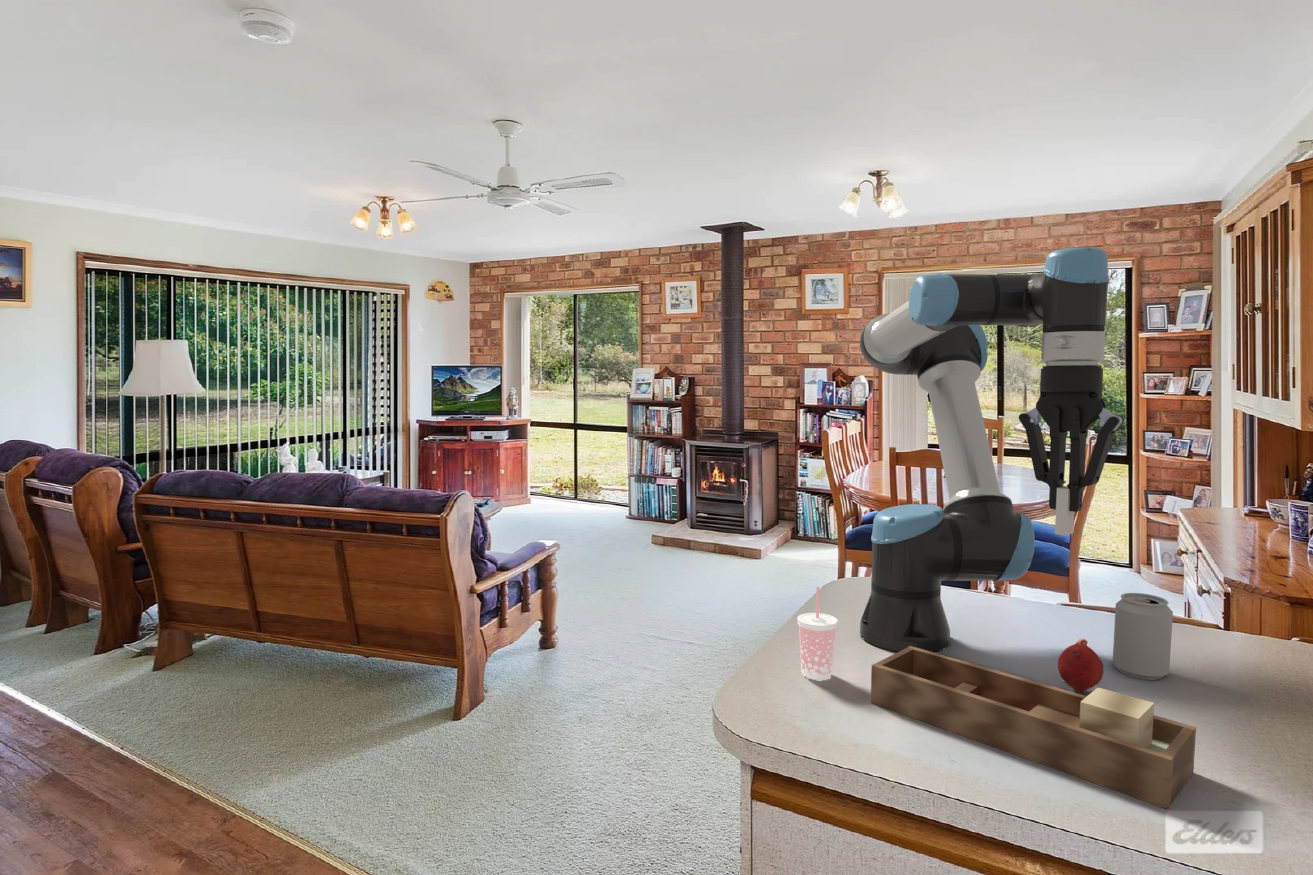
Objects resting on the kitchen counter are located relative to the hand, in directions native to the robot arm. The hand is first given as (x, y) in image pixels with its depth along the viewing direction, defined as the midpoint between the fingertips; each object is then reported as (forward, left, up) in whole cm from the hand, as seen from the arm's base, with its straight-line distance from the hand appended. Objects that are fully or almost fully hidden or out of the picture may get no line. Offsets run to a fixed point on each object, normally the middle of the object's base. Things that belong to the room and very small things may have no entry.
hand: (1064, 533), depth 105 cm
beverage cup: (-29, -17, -25) cm, 42 cm away
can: (+5, +21, -25) cm, 33 cm away
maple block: (+11, -14, -21) cm, 28 cm away
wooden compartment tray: (0, -14, -24) cm, 28 cm away
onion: (+1, +6, -25) cm, 25 cm away
